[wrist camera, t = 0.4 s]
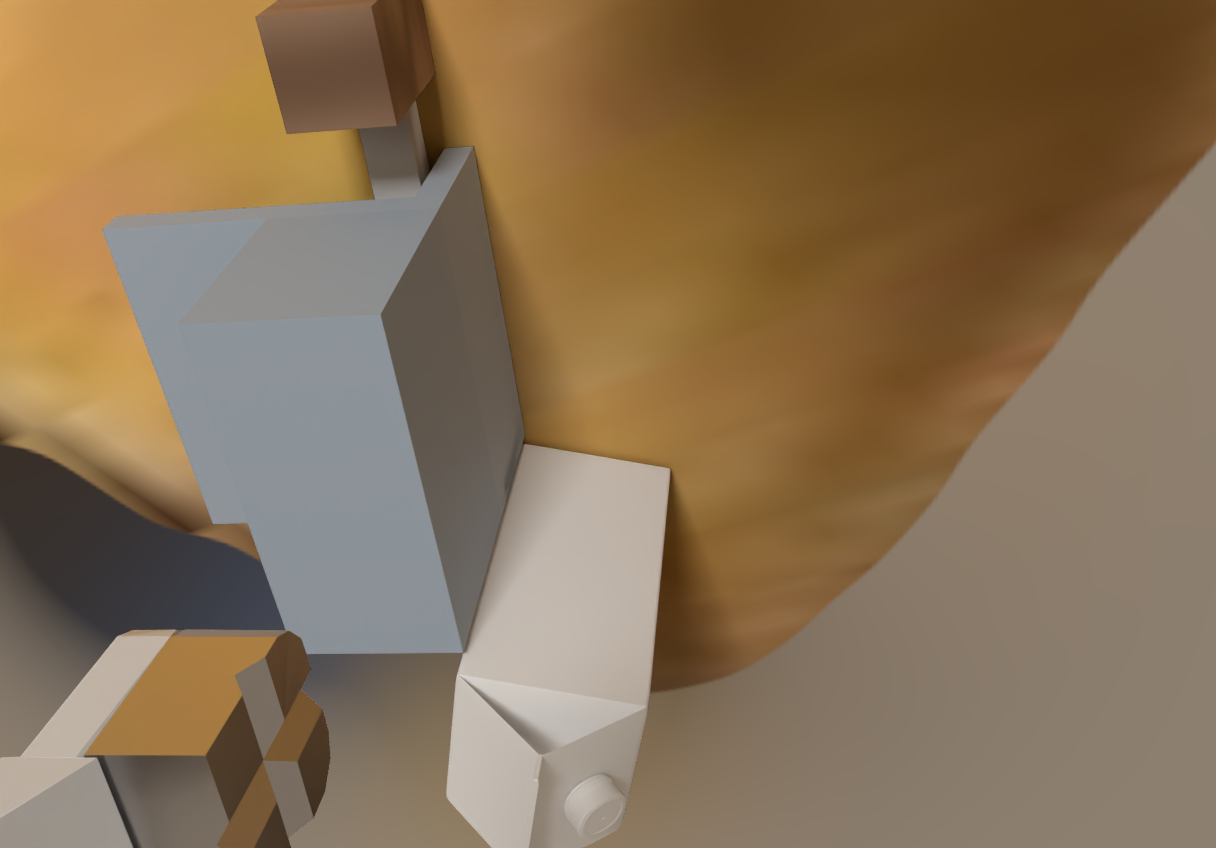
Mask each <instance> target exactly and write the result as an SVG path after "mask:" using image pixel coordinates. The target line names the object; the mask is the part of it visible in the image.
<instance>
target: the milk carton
mask: <svg viewBox="0 0 1216 848" xmlns="http://www.w3.org/2000/svg"><path fill="white" fill-rule="evenodd" d="M670 472H671V471H670V469H669V468H665V467H659V466H653V465H647V464H642V463H636V462H630V461H624V460H618V459H612V458H606V457H601V456H595V455H589V454H583V453H577V452H571V451H565V450H559V449H553V448H547V447H541V446H535V445H529V444H523V445H522V448H521V451H520V455H519V458H518V462H517V466H516V469H515V473H514V476H513V480H512V483H511V487H510V490H509V494H508V497H507V501H506V504H505V508H504V511H503V515H502V518H501V522H500V525H499V529H498V532H497V536H496V540H495V543H494V547H493V550H492V554H491V557H490V561H489V564H488V568H487V571H486V575H485V578H484V582H483V585H482V589H481V592H480V596H479V599H478V603H477V607H476V610H475V614H474V617H473V621H472V624H471V628H470V631H469V635H468V638H467V642H466V645H465V649H464V652H463V656H462V659H461V663H460V667H459V670H458V674H457V678H456V686H455V697H454V709H453V721H452V733H451V744H450V755H449V767H448V779H447V799H448V800H449V801H450V802H451V803H452V804H453V806H454V807H455V808H456V809H457V810H458V811H459V812H460V813H461V814H462V815H463V817H464V818H465V819H466V820H467V821H468V822H469V823H470V824H471V825H472V826H473V828H474V829H476V831H477V832H478V833H479V834H480V835H481V836H482V837H483V838H484V840H485V841H486V842H487V843H488V844H489V845H490V846H491V847H492V848H584V847H586V846H588V845H590V844H591V843H593V842H595V841H597V840H599V839H601V838H603V837H605V836H606V835H609V834H610V833H612V832H614V831H616V830H617V829H619V827H620V826H621V824H622V821H623V818H624V814H625V810H626V806H627V802H628V798H629V793H630V789H631V785H632V780H633V776H634V771H635V767H636V763H637V758H638V754H639V749H640V745H641V741H642V736H643V732H644V727H645V723H646V718H647V713H648V706H649V698H650V688H651V677H652V667H653V656H654V645H655V634H656V624H657V613H658V602H659V591H660V580H661V570H662V559H663V548H664V537H665V527H666V516H667V505H668V494H669V484H670Z"/></svg>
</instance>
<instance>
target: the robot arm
mask: <svg viewBox="0 0 1216 848" xmlns="http://www.w3.org/2000/svg"><path fill="white" fill-rule="evenodd" d="M310 671H311V666H310V663H309V660H308V657H307V654H306V651H305V648H304V645H303V642H302V639H301V638H300V637H298V636H297V635H295V634H294V633H292V632H291V631H279V630H278V631H277V630H184V631H179V630H133V631H130V632H128V633H125V634H122V635H120V636H117V638H116V639H115V640H114V642H113V643H112V644H111V645H110V646H109V648H108V649H107V650H106V651H105V652H104V654H103V655H102V656H101V657H100V659H99V660H98V661H97V662H96V664H95V665H94V666H93V667H92V669H91V670H90V671H89V672H88V674H87V675H86V676H85V677H84V679H83V680H82V681H81V682H80V683H79V685H78V686H77V687H76V688H75V690H74V691H73V692H72V693H71V695H70V696H69V697H68V698H67V700H66V701H65V702H64V703H63V705H62V706H61V707H60V708H59V710H58V711H57V712H56V713H55V714H54V716H53V717H52V718H51V719H50V721H49V722H48V723H47V724H46V726H45V727H44V728H43V729H42V731H41V732H40V733H39V735H38V736H37V737H36V738H35V739H34V741H33V742H32V743H31V744H30V745H29V747H28V748H27V749H26V750H25V752H24V753H23V754H22V755H21V757H2V758H1V759H0V848H291V846H290V843H289V839H288V838H289V837H290V836H291V835H293V834H294V833H295V832H296V831H298V830H299V829H300V828H301V827H303V826H304V825H306V824H307V823H308V822H309V821H311V820H312V819H313V818H314V816H315V814H316V812H317V809H318V807H319V805H320V802H321V800H322V797H323V795H324V793H325V789H326V783H327V776H328V770H329V764H330V745H329V731H328V728H327V724H326V720H325V716H324V712H323V709H322V708H321V707H320V706H318V705H317V704H316V703H315V702H314V701H313V700H312V699H311V698H310V697H308V696H307V695H306V694H305V693H304V692H303V691H301V688H302V686H303V684H304V682H305V680H306V678H307V676H308V674H309V672H310Z"/></svg>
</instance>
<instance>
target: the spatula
mask: <svg viewBox="0 0 1216 848" xmlns="http://www.w3.org/2000/svg"><path fill="white" fill-rule="evenodd" d="M255 18H256V21H257V25H258V29H259V32H260V36H261V40H262V44H263V47H264V51H265V55H266V58H267V62H268V66H269V70H270V73H271V77H272V81H273V84H274V88H275V92H276V96H277V99H278V103H279V107H280V110H281V114H282V118H283V122H284V125H285V129H286V133H287V134H294V133H307V132H320V131H333V130H347V129H359V133H360V138H361V142H362V146H363V151H364V155H365V159H366V163H367V168H368V172H369V176H370V181H371V185H372V189H373V193H374V198H375V199H389V198H404V197H415V196H416V194H417V193H418V191H419V190H420V188H421V186H422V185H423V183H424V181H425V180H426V178H427V176H428V175H429V173H430V168H429V163H428V158H427V154H426V149H425V144H424V139H423V134H422V129H421V124H420V119H419V114H418V109H417V104H416V99H417V98H418V96H419V95H420V94H421V92H422V91H423V90H424V88H425V87H426V85H427V84H428V83H429V81H430V80H431V79H432V77H433V76H434V75H435V68H434V63H433V58H432V52H431V47H430V42H429V37H428V31H427V26H426V21H425V16H424V10H423V5H422V0H278V1H276V2H275V3H274V4H272V5H271V6H270V7H268V8H267V9H266V10H264V11H263V12H261V13H260V14H259V15H257V16H256V17H255Z"/></svg>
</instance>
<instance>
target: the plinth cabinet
mask: <svg viewBox="0 0 1216 848" xmlns="http://www.w3.org/2000/svg"><path fill="white" fill-rule="evenodd" d="M102 231H103V233H104V236H105V239H106V241H107V244H108V247H109V249H110V252H111V255H112V257H113V260H114V263H115V265H116V268H117V271H118V273H119V276H120V278H121V281H122V284H123V286H124V289H125V292H126V294H127V297H128V300H129V302H130V305H131V308H132V310H133V313H134V316H135V318H136V321H137V324H138V326H139V329H140V331H141V334H142V337H143V339H144V342H145V345H146V347H147V350H148V353H149V355H150V358H151V361H152V363H153V366H154V369H155V371H156V374H157V376H158V379H159V382H160V384H161V387H162V390H163V392H164V395H165V398H166V400H167V403H168V406H169V408H170V411H171V414H172V416H173V419H174V422H175V424H176V427H177V429H178V432H179V435H180V437H181V440H182V443H183V445H184V448H185V451H186V453H187V456H188V459H189V461H190V464H191V467H192V469H193V472H194V475H195V477H196V480H197V482H198V485H199V488H200V490H201V493H202V496H203V498H204V501H205V504H206V506H207V509H208V512H209V514H210V517H211V520H212V522H213V524H225V523H248V525H249V528H250V531H251V533H252V536H253V539H254V542H255V545H256V548H257V550H258V553H259V556H260V559H261V562H262V564H263V567H264V570H265V573H266V576H267V578H268V581H269V584H270V587H271V589H272V592H273V595H274V598H275V601H276V603H277V606H278V609H279V612H280V615H281V618H282V620H283V623H284V626H285V629H286V631H291V632H292V633H294V634H295V635H297V636H298V637H300V638H301V639H302V642H303V645H304V648H305V651H306V654H339V653H340V654H341V653H342V654H345V653H346V654H348V653H463V652H464V648H465V645H466V641H467V638H468V634H469V631H470V627H471V624H472V620H473V617H474V613H475V610H476V606H477V603H478V599H479V595H480V592H481V588H482V585H483V581H484V578H485V574H486V571H487V567H488V564H489V560H490V557H491V553H492V550H493V546H494V542H495V539H496V535H497V532H498V528H499V525H500V521H501V518H502V514H503V511H504V507H505V504H506V500H507V497H508V493H509V489H510V486H511V482H512V479H513V475H514V472H515V468H516V465H517V461H518V458H519V454H520V451H521V447H522V444H523V440H524V437H525V431H524V426H523V420H522V414H521V409H520V403H519V398H518V392H517V386H516V381H515V375H514V370H513V364H512V358H511V353H510V347H509V342H508V336H507V330H506V325H505V319H504V314H503V308H502V302H501V297H500V291H499V286H498V280H497V274H496V269H495V263H494V258H493V252H492V246H491V241H490V235H489V230H488V224H487V218H486V213H485V207H484V202H483V196H482V190H481V185H480V179H479V174H478V168H477V162H476V157H475V151H474V146H470V147H456V148H445V149H444V150H443V152H442V153H441V155H440V157H439V158H438V160H437V162H436V163H435V165H434V167H433V168H432V170H431V171H430V173H429V175H428V176H427V178H426V180H425V181H424V183H423V185H422V186H421V188H420V190H419V191H418V193H417V194H416V196H415V197H404V198H389V199H374V200H359V201H343V202H328V203H313V204H298V205H283V206H268V207H252V208H237V209H222V210H207V211H192V212H176V213H161V214H146V215H131V216H117V217H115V218H114V219H113V220H112V221H111V222H110V223H109V224H108V225H106V226H105V227H104V228H103V229H102Z"/></svg>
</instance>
